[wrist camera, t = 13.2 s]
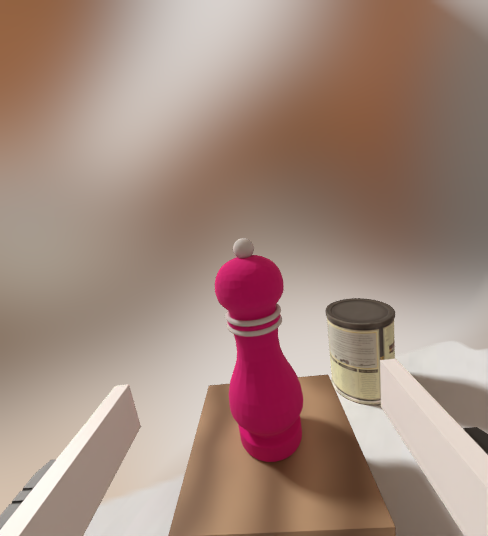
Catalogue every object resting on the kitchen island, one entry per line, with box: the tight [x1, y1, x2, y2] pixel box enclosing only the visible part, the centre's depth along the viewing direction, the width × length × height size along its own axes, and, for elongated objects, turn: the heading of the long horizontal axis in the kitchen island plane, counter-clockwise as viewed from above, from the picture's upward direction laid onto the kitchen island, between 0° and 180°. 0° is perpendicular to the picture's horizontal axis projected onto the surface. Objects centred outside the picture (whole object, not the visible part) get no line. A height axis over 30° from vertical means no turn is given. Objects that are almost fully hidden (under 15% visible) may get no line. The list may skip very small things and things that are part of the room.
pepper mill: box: [215, 238, 303, 462], centre depth 23 cm, size 7×7×20 cm
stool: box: [168, 375, 395, 536], centre depth 26 cm, size 16×16×10 cm
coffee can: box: [326, 298, 395, 405], centre depth 42 cm, size 10×10×14 cm
